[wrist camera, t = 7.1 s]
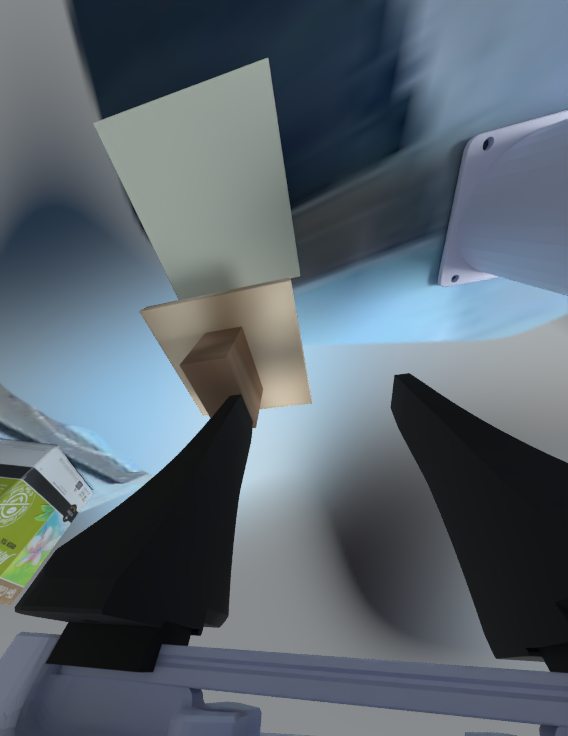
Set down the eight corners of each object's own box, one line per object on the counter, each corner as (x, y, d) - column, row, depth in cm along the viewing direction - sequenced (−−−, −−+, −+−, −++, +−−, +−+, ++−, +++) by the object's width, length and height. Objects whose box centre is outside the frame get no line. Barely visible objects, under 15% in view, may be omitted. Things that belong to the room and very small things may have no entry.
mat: (269, 65, 11) (267, 57, 10) (300, 274, 16) (300, 276, 16) (101, 127, 12) (92, 123, 12) (182, 299, 18) (179, 301, 17)
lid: (290, 277, 12) (288, 302, 8) (311, 396, 17) (315, 443, 13) (147, 306, 13) (91, 339, 9) (206, 408, 18) (184, 454, 14)
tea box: (98, 490, 40) (12, 608, 28) (43, 484, 40) (-68, 601, 27) (59, 443, 31) (-89, 584, 19) (-11, 435, 31) (-209, 573, 19)
